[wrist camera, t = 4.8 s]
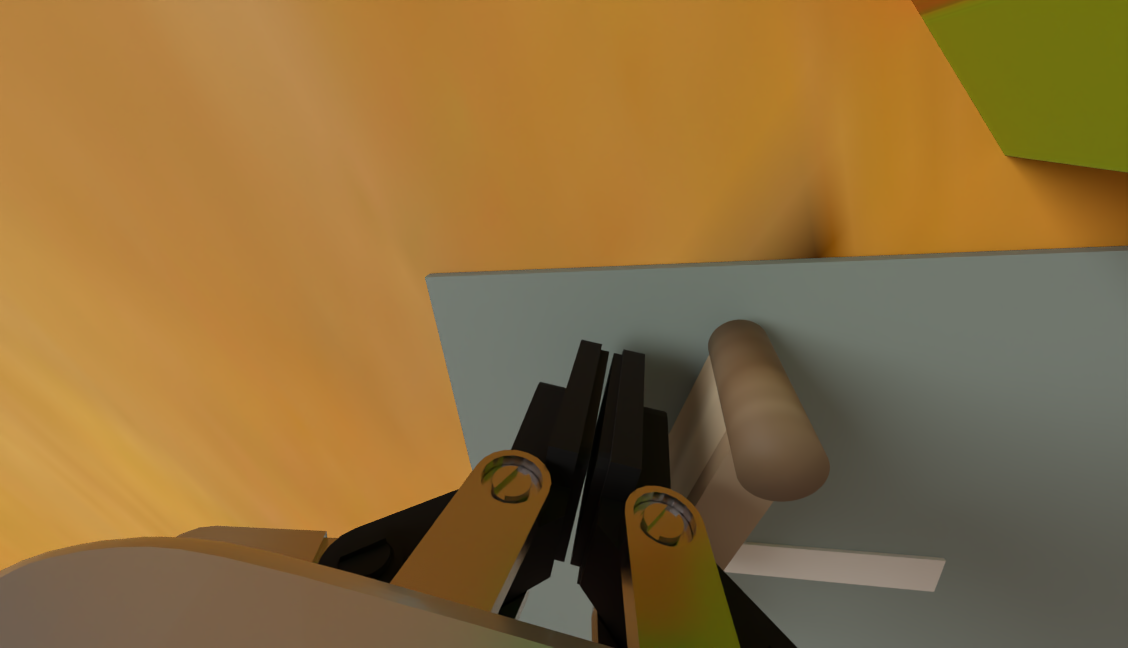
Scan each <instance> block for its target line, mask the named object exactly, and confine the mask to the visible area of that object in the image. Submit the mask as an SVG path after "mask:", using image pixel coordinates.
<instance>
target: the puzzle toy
mask: <svg viewBox="0 0 1128 648" xmlns="http://www.w3.org/2000/svg"><path fill="white" fill-rule="evenodd" d="M912 2H913V4H914V5H915V7H916V9H917V10H918V12H919V14H920V15H921V17H922V18H923V20H924V22H925V23H926V25H927V27H928V28H929V30H930V32H931V33H932V35H933V37H934V38H935V40H936V42H937V43H938V45H939V47H940V48H941V50H942V52H943V53H944V55H945V57H946V58H947V60H948V62H949V63H950V65H951V67H952V68H953V70H954V72H955V73H956V75H957V77H958V78H959V80H960V82H961V83H962V85H963V86H964V88H965V90H966V91H967V93H968V95H969V96H970V98H971V100H972V101H973V103H974V105H975V106H976V108H977V110H978V111H979V113H980V115H981V116H982V118H983V120H984V121H985V123H986V125H987V126H988V128H989V130H990V131H991V133H992V135H993V136H994V138H995V140H996V141H997V143H998V145H999V146H1000V148H1001V149H1002V151H1003V153H1004V154H1005V156H1012V157H1019V158H1026V159H1034V160H1041V161H1048V162H1055V163H1062V164H1070V165H1077V166H1084V167H1091V168H1098V169H1105V170H1113V171H1120V172H1127V173H1128V0H912Z"/></svg>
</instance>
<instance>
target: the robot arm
mask: <svg viewBox="0 0 1128 648" xmlns="http://www.w3.org/2000/svg"><path fill="white" fill-rule="evenodd" d="M601 348H602V344H599V343H595V342H591V341H586V340H581V342H580V345H579V349H578V352H577V355H576V358H575V361H574V365H573V368H572V371H571V374H570V378H569V381H568V384H567V387H566V388H565V387H560V386H556V385H552V384H548V383H544V382H539V384H538V386H537V388H536V391H535V393H534V395H533V398H532V400H531V403H530V405H529V407H528V410H527V412H526V415H525V417H524V419H523V422H522V424H521V427H520V429H519V431H518V434H517V436H516V439H515V441H514V443H513V446H512V448H511V450H502V451H498V452H494V453H492V454H490V455H488V456H486V457H484V458H483V459H482V460H481V461H480V462H479V463H478V464H477V465H476V467H475V468H474V469H473V471H472V472H471V473H470V475H469V476H468V477H467V479H466V480H465V482H464V483H463V484H462V486H461V487H460V488H459V489H458V490H455V491H453V492H450V493H447V494H445V495H442V496H439V497H437V498H434V499H431V500H429V501H426V502H424V503H421V504H418V505H416V506H413V507H410V508H408V509H405V510H403V511H400V512H397V513H395V514H392V515H389V516H387V517H384V518H381V519H379V520H376V521H374V522H371V523H368V524H366V525H363V526H360V527H358V528H355V529H353V530H351V531H349V532H347V533H345V534H343V535H342V536H340V537H339V538H327V532H326V531H311V530H291V529H270V528H250V527H229V526H210V527H200V528H197V529H194V530H191V531H188V532H185V533H183V534H180V535H179V536H177V537H138V538H127V539H115V540H104V541H97V542H91V543H85V544H80V545H75V546H70V547H66V548H62V549H57V550H53V551H49V552H46V553H43V554H40V555H37V556H34V557H31V558H28V559H25V560H23V561H20V562H18V563H16V564H14V565H12V566H10V567H8V568H5V569H3V570H1V571H0V648H797V647H796V646H795V644H794V643H793V642H792V641H791V640H790V639H789V638H788V637H787V636H786V635H785V634H784V633H783V632H782V631H781V630H780V629H779V628H778V627H777V626H776V625H775V624H774V623H773V622H772V621H771V620H770V619H769V617H768V616H767V615H766V614H765V613H764V612H763V611H762V610H761V609H760V608H759V607H758V606H757V605H756V604H755V603H754V602H753V601H752V600H751V599H750V598H749V597H748V596H747V595H746V594H745V593H744V592H743V590H742V589H741V588H740V587H739V586H738V585H737V584H736V583H735V582H734V581H733V580H732V579H731V578H730V577H729V576H728V575H727V574H726V573H725V572H724V571H723V570H722V569H721V568H720V567H719V566H718V564H717V563H716V562H715V558H714V555H713V552H712V548H711V545H710V541H709V538H708V534H707V531H706V528H705V524H704V522H703V519H702V517H701V515H700V513H699V511H698V510H697V509H696V508H695V506H694V505H693V504H692V503H691V502H690V501H689V500H687V499H686V498H685V497H684V496H682V495H681V494H679V493H677V492H675V491H673V490H671V478H670V458H669V437H668V417H667V413H666V412H665V411H661V410H656V409H652V408H648V407H644V377H645V354H643V353H638V352H634V351H629V350H625V349H623V352H622V355H621V354H617V353H614V354H613V358H612V362H611V366H610V370H609V374H608V378H607V383H606V387H605V391H604V395H603V399H602V403H601V407H600V411H599V406H600V401H601V395H602V390H603V384H604V379H605V373H606V368H607V362H608V357H609V351H605V350H601ZM598 412H599V415H598ZM597 417H598V419H597ZM585 476H586V478H585ZM584 480H585V483H584ZM583 484H584V489H583V495H582V500H581V506H580V511H579V517H578V522H577V528H576V534H575V539H574V545H573V550H572V556H571V562H570V564H571V565H574V566H578V567H579V573H578V579H577V584H579V585H580V587H581V588H582V590H583V591H584V593H585V594H586V596H587V597H588V599H589V600H590V602H591V603H592V605H593V607H592V615H591V628H592V641H589V640H585V639H582V638H578V637H575V636H571V635H568V634H564V633H561V632H558V631H554V630H551V629H547V628H544V627H540V626H537V625H533V624H530V623H526V622H523V621H519V618H520V615H521V613H522V611H523V608H524V606H525V604H526V601H527V599H528V595H529V591H530V589H531V588H532V587H534V586H536V585H538V584H539V583H541V582H543V581H545V580H547V579H548V578H550V577H551V572H552V568H553V564H554V560H558V561H561V562H564V561H565V557H566V553H567V549H568V545H569V541H570V537H571V533H572V529H573V525H574V521H575V517H576V513H577V509H578V505H579V501H580V497H581V492H582V488H583Z"/></svg>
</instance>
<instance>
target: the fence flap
mask: <svg viewBox="0 0 1128 648" xmlns="http://www.w3.org/2000/svg"><path fill="white" fill-rule="evenodd" d="M708 351H709V356H708V358H707V359H706V361H705V363H704V365H703V367H702V369H701V371H700V373H699V375H698V377H697V379H696V381H695V383H694V385H693V387H692V389H691V391H690V393H689V395H688V397H687V399H686V401H685V403H684V405H683V407H682V409H681V411H680V413H679V415H678V417H677V419H676V421H675V423H674V425H673V427H672V429H671V431H670V433H669V435H668V437H669V458H670V478H671V490H673V491H675V492H677V493H679V494H681V495H682V496H684V497H685V498H686V499H687V500H689V501H690V502H691V503H692V504H693V505H694V506H695V508H696V509H697V510H698V511H699V513H700V515H701V517H702V519H703V522H704V524H705V528H706V531H707V534H708V538H709V541H710V545H711V548H712V552H713V555H714V558H715V562H716V563H717V564H718V566H719V567H720V568H721V569H722V570H723V571H724V569H725V568H726V567H727V565H728V564H729V562H730V561H731V560H732V558H733V557H734V556H735V554H736V553H737V551H738V550H739V549H740V547H741V546H742V544H743V543H744V542H745V540H746V539H747V538H748V536H749V535H750V533H751V532H752V531H753V529H754V528H755V526H756V525H757V524H758V522H759V521H760V520H761V518H762V517H763V515H764V514H765V513H766V511H767V510H768V508H769V507H770V506H771V504H772V503H773V502H774V501H777V502H786V501H794V500H798V499H802V498H804V497H807V496H809V495H811V494H813V493H814V492H816V491H817V490H818V489H819V488H821V487H822V485H823V484H824V483H825V481H826V480H827V478H828V476H829V472H830V463H829V459H828V457H827V455H826V453H825V451H824V449H823V447H822V445H821V443H820V441H819V439H818V437H817V435H816V433H815V431H814V429H813V426H812V424H811V422H810V420H809V418H808V416H807V414H806V412H805V410H804V408H803V406H802V404H801V402H800V400H799V398H798V396H797V394H796V392H795V390H794V388H793V386H792V384H791V382H790V380H789V378H788V376H787V374H786V372H785V370H784V368H783V366H782V364H781V362H780V360H779V358H778V356H777V354H776V352H775V350H774V348H773V346H772V344H771V342H770V340H769V338H768V336H767V334H766V332H765V330H764V329H763V328H762V327H761V326H760V325H758V324H756V323H755V322H752V321H749V320H732V321H728V322H726V323H724V324H722V325H720V326H719V327H718V328H716V329H715V330H714V332H713V333H712V335H711V336H710V339H709V342H708Z"/></svg>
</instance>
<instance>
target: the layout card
mask: <svg viewBox="0 0 1128 648" xmlns="http://www.w3.org/2000/svg"><path fill="white" fill-rule="evenodd" d="M425 280H426V284H427V288H428V292H429V296H430V300H431V304H432V308H433V312H434V316H435V320H436V324H437V328H438V333H439V337H440V341H441V345H442V349H443V353H444V357H445V361H446V365H447V369H448V373H449V377H450V381H451V386H452V390H453V394H454V398H455V402H456V406H457V410H458V414H459V418H460V422H461V426H462V430H463V435H464V439H465V443H466V447H467V451H468V455H469V459H470V463H471V467H472V471H473V469H474V468H475V467H476V465H477V464H478V463H479V462H480V461H481V460H482V459H483V458H484V457H486V456H488V455H490V454H492V453H494V452H498V451H502V450H511V448H512V446H513V443H514V441H515V439H516V436H517V434H518V431H519V429H520V427H521V424H522V422H523V419H524V417H525V415H526V412H527V410H528V407H529V405H530V403H531V400H532V398H533V395H534V393H535V391H536V388H537V386H538V384H539V382H544V383H548V384H552V385H556V386H560V387H565V388H566V387H567V384H568V381H569V378H570V374H571V371H572V368H573V365H574V361H575V358H576V355H577V352H578V349H579V345H580V342H581V340H586V341H591V342H595V343H599V344H602V348H601V350H605V351H609V357H608V362H607V368H606V373H605V379H604V384H603V390H602V395H601V401H600V406H599V411H600V407H601V403H602V399H603V395H604V391H605V387H606V383H607V378H608V374H609V370H610V366H611V362H612V358H613V354H614V353H617V354H621V355H622V352H623V349H625V350H629V351H634V352H638V353H643V354H645V377H644V407H648V408H652V409H656V410H661V411H665V412H666V413H667V417H668V435H669V433H670V431H671V429H672V427H673V425H674V423H675V421H676V419H677V417H678V415H679V413H680V411H681V409H682V407H683V405H684V403H685V401H686V399H687V397H688V395H689V393H690V391H691V389H692V387H693V385H694V383H695V381H696V379H697V377H698V375H699V373H700V371H701V369H702V367H703V365H704V363H705V361H706V359H707V358H708V356H709V351H708V342H709V339H710V336H711V335H712V333H713V332H714V330H715V329H716V328H718V327H719V326H720V325H722V324H724V323H726V322H728V321H732V320H749V321H752V322H755V323H756V324H758V325H760V326H761V327H762V328H763V329H764V330H765V332H766V334H767V336H768V338H769V340H770V342H771V344H772V346H773V348H774V350H775V352H776V354H777V356H778V358H779V360H780V362H781V364H782V366H783V368H784V370H785V372H786V374H787V376H788V378H789V380H790V382H791V384H792V386H793V388H794V390H795V392H796V394H797V396H798V398H799V400H800V402H801V404H802V406H803V408H804V410H805V412H806V414H807V416H808V418H809V420H810V422H811V424H812V426H813V429H814V431H815V433H816V435H817V437H818V439H819V441H820V443H821V445H822V447H823V449H824V451H825V453H826V455H827V457H828V459H829V463H830V472H829V476H828V478H827V480H826V481H825V483H824V484H823V485H822V487H821V488H819V489H818V490H817V491H816V492H814V493H813V494H811V495H809V496H807V497H804V498H802V499H798V500H794V501H786V502H777V501H774V502H773V503H772V504H771V506H770V507H769V508H768V510H767V511H766V513H765V514H764V515H763V517H762V518H761V520H760V521H759V522H758V524H757V525H756V526H755V528H754V529H753V531H752V532H751V533H750V535H749V536H748V538H747V539H746V540H745V542H744V543H743V544H742V546H741V547H740V549H739V550H738V551H737V553H736V554H735V556H734V557H733V558H732V560H731V561H730V562H729V564H728V565H727V567H726V568H725V569H724V572H725V573H726V574H727V575H728V576H729V577H730V578H731V579H732V580H733V581H734V582H735V583H736V584H737V585H738V586H739V587H740V588H741V589H742V590H743V592H744V593H745V594H746V595H747V596H748V597H749V598H750V599H751V600H752V601H753V602H754V603H755V604H756V605H757V606H758V607H759V608H760V609H761V610H762V611H763V612H764V613H765V614H766V615H767V616H768V617H769V619H770V620H771V621H772V622H773V623H774V624H775V625H776V626H777V627H778V628H779V629H780V630H781V631H782V632H783V633H784V634H785V635H786V636H787V637H788V638H789V639H790V640H791V641H792V642H793V643H794V644H795V646H796V647H797V648H1128V246H1111V247H1086V248H1061V249H1036V250H1010V251H985V252H960V253H935V254H910V255H885V256H860V257H835V258H810V259H785V260H760V261H735V262H710V263H685V264H660V265H635V266H610V267H585V268H560V269H535V270H510V271H484V272H459V273H434V274H429V275H427V276H426V277H425ZM598 415H599V412H598ZM597 419H598V417H597ZM585 478H586V476H585ZM584 483H585V480H584ZM583 489H584V484H583V488H582V492H581V497H580V501H579V505H578V509H577V513H576V517H575V521H574V525H573V529H572V533H571V537H570V541H569V545H568V549H567V553H566V557H565V561H564V562H561V561H558V560H554V564H553V568H552V572H551V577H550V578H548V579H547V580H545V581H543V582H541V583H539V584H538V585H536V586H534V587H532V588H531V589H530V591H529V595H528V599H527V601H526V604H525V606H524V608H523V611H522V613H521V615H520V618H519V621H523V622H526V623H530V624H533V625H537V626H540V627H544V628H547V629H551V630H554V631H558V632H561V633H564V634H568V635H571V636H575V637H578V638H582V639H585V640H589V641H592V628H591V615H592V607H593V605H592V603H591V602H590V600H589V599H588V597H587V596H586V594H585V593H584V591H583V590H582V588H581V587H580V585H579V584H577V579H578V573H579V567H578V566H574V565H571V564H570V562H571V556H572V550H573V545H574V539H575V534H576V528H577V522H578V517H579V511H580V506H581V500H582V495H583Z"/></svg>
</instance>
